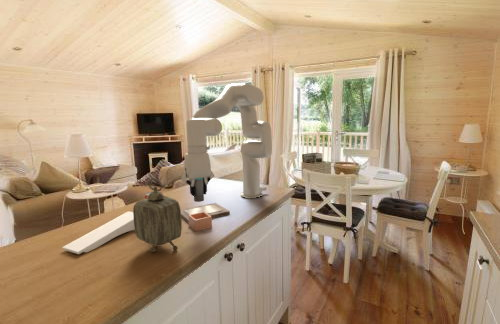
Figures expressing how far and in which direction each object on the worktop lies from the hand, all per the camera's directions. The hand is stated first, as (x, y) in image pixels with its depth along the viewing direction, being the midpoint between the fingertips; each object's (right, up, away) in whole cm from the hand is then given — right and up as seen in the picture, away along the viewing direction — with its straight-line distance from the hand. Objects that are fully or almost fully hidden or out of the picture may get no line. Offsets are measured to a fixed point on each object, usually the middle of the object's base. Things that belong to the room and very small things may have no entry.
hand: (198, 194), depth 112 cm
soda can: (-22, -13, +11) cm, 27 cm away
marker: (0, -3, 0) cm, 3 cm away
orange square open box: (0, -14, +2) cm, 14 cm away
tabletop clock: (-11, -17, -17) cm, 27 cm away
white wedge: (-33, -16, -7) cm, 38 cm away
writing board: (-1, -11, +17) cm, 20 cm away
